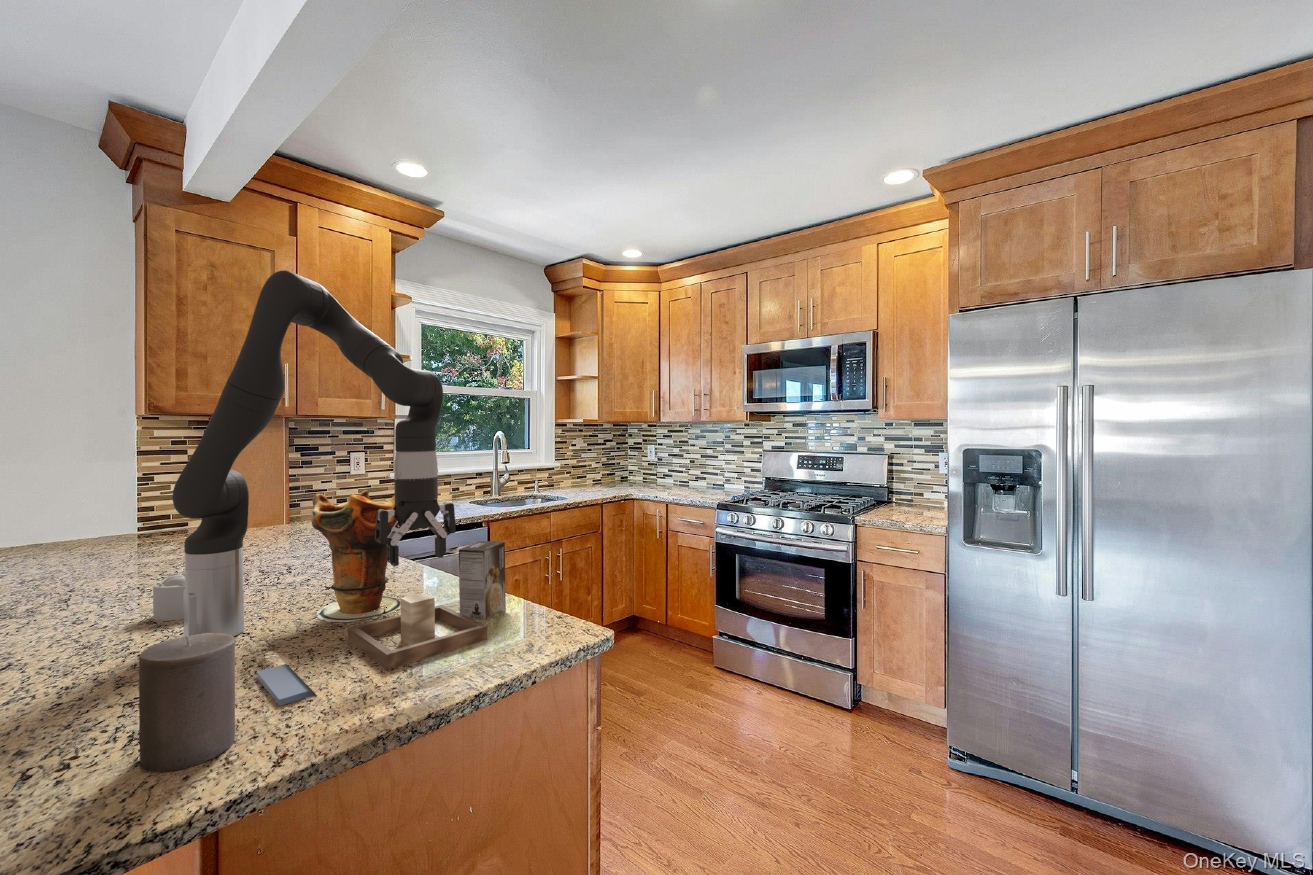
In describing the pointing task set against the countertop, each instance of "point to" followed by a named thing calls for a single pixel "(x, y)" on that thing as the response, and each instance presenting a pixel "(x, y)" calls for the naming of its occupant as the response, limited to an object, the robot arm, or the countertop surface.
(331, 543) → the decorative vase
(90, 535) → the countertop surface
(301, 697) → the pad
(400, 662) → the brown wooden square frame
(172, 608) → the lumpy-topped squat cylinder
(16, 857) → the countertop surface
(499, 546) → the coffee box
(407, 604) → the maple block
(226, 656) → the pillar candle
